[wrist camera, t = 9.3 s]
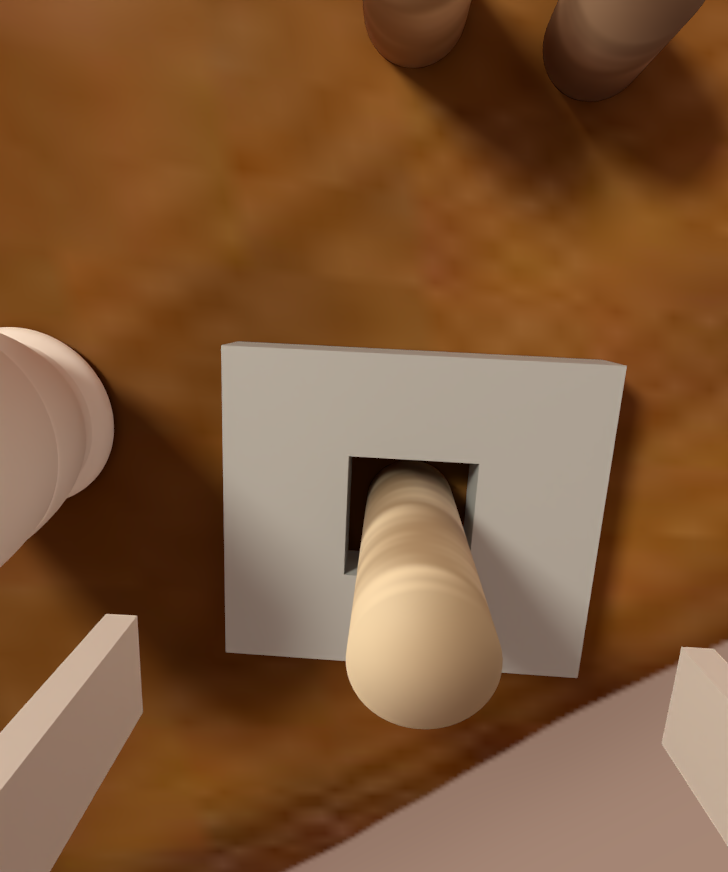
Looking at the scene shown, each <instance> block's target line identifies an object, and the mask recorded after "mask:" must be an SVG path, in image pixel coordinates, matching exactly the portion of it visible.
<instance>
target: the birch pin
mask: <svg viewBox="0 0 728 872" xmlns="http://www.w3.org/2000/svg"><path fill="white" fill-rule="evenodd" d="M502 664H503V657H502V649H501V646H500V642H499V639H498V635H497V632H496V629H495V626H494V623H493V620H492V617H491V614H490V610H489V607H488V604H487V601H486V598H485V595H484V592H483V589H482V585H481V582H480V579H479V576H478V573H477V570H476V567H475V563H474V560H473V557H472V554H471V551H470V548H469V545H468V542H467V538H466V535H465V532H464V529H463V526H462V523H461V520H460V517H459V513H458V510H457V507H456V504H455V501H454V498H453V495H452V492H451V488H450V486H449V484H448V482H447V480H446V478H445V477H444V476H443V475H442V473H441V472H439V471H438V470H437V469H436V468H434V467H433V466H431V465H429V464H427V463H424V462H421V461H416V460H403V461H398V462H395V463H392V464H390V465H388V466H387V467H385V468H384V469H382V470H381V471H380V472H379V473H378V474H377V475H376V476H375V478H374V479H373V481H372V482H371V484H370V487H369V490H368V494H367V502H366V509H365V517H364V524H363V532H362V539H361V546H360V554H359V561H358V569H357V576H356V583H355V591H354V598H353V606H352V613H351V620H350V628H349V635H348V643H347V650H346V669H347V674H348V678H349V681H350V683H351V685H352V687H353V689H354V691H355V693H356V694H357V696H358V697H359V699H360V700H361V701H362V702H363V703H364V704H365V706H367V707H368V708H369V709H370V710H371V711H372V712H374V713H375V714H377V715H378V716H380V717H381V718H383V719H385V720H387V721H389V722H391V723H394V724H397V725H400V726H404V727H408V728H415V729H436V728H442V727H447V726H450V725H453V724H456V723H459V722H461V721H463V720H465V719H467V718H469V717H470V716H472V715H473V714H475V713H476V712H477V711H479V710H480V709H481V708H482V707H483V706H484V705H485V704H486V703H487V702H488V701H489V699H490V698H491V696H492V695H493V694H494V692H495V690H496V688H497V686H498V683H499V680H500V678H501V673H502Z"/></svg>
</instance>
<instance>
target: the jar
mask: <svg viewBox="0 0 728 872" xmlns="http://www.w3.org/2000/svg"><path fill="white" fill-rule="evenodd" d="M113 438H114V419H113V412H112V408H111V404H110V401H109V398H108V395H107V393H106V391H105V388H104V386H103V384H102V382H101V381H100V379H99V378H98V376H97V375H96V373H95V372H94V370H93V369H92V368H91V367H90V365H89V364H88V363H87V362H86V361H85V360H84V359H83V358H82V357H81V356H80V355H79V354H78V353H76V352H75V351H74V350H73V349H71V348H70V347H69V346H67V345H66V344H64V343H62V342H61V341H59V340H57V339H55V338H53V337H51V336H49V335H46V334H44V333H41V332H38V331H34V330H30V329H25V328H16V327H2V328H0V567H1V566H2V565H3V564H4V563H5V562H6V561H7V560H8V559H9V558H10V557H11V556H12V555H13V554H14V553H15V552H16V551H17V550H18V549H19V548H20V547H21V546H22V545H23V544H24V543H25V541H26V540H27V539H29V538H30V537H31V536H32V535H33V534H34V533H36V532H37V531H38V530H39V529H40V528H41V527H42V526H43V525H44V524H45V523H46V522H47V521H48V520H49V519H50V518H51V517H52V516H53V515H54V514H55V513H56V511H57V510H58V509H59V508H60V506H61V505H62V504H63V503H64V501H65V500H66V498H69V497H71V496H73V495H75V494H77V493H79V492H80V491H82V490H83V489H85V488H86V487H87V486H88V485H89V484H91V483H92V482H93V481H94V480H95V479H96V477H97V476H98V475H99V474H100V472H101V471H102V469H103V468H104V466H105V464H106V462H107V460H108V457H109V455H110V452H111V449H112V444H113Z"/></svg>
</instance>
